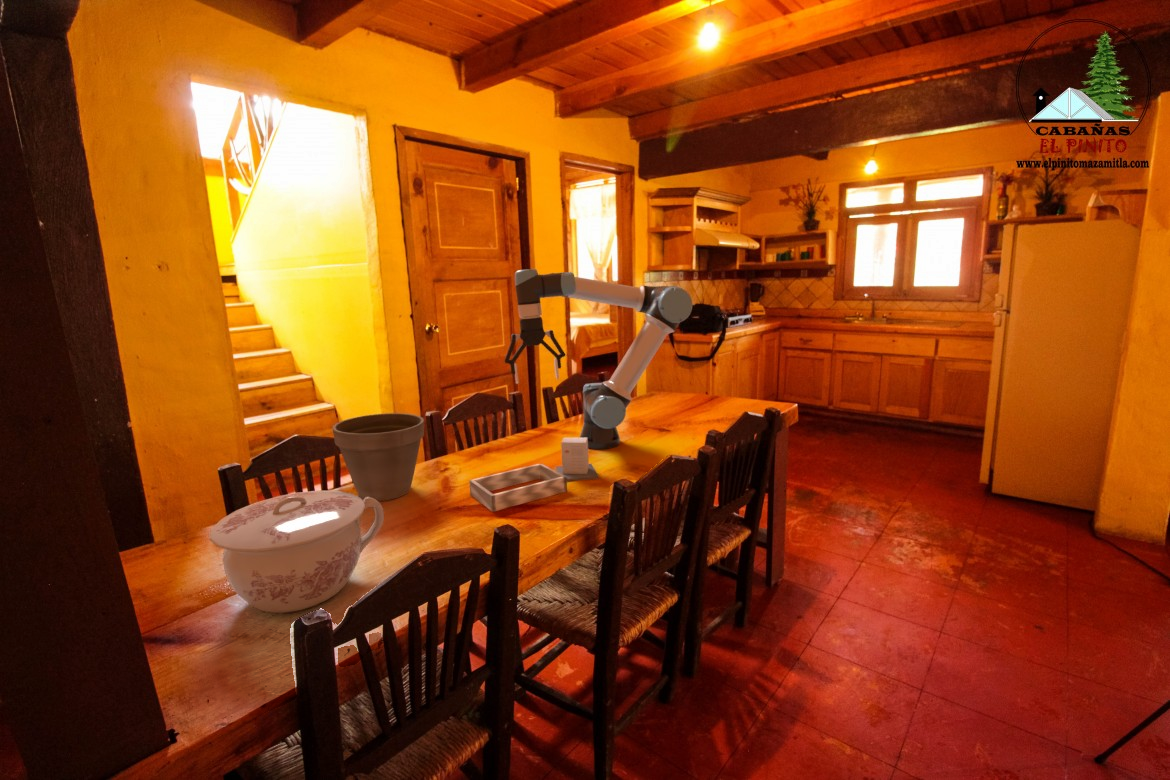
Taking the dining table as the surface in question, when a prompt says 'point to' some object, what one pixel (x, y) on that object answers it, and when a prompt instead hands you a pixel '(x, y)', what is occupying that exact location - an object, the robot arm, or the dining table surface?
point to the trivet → (573, 477)
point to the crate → (502, 500)
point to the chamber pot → (294, 547)
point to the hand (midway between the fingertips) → (537, 381)
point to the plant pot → (380, 452)
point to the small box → (575, 455)
